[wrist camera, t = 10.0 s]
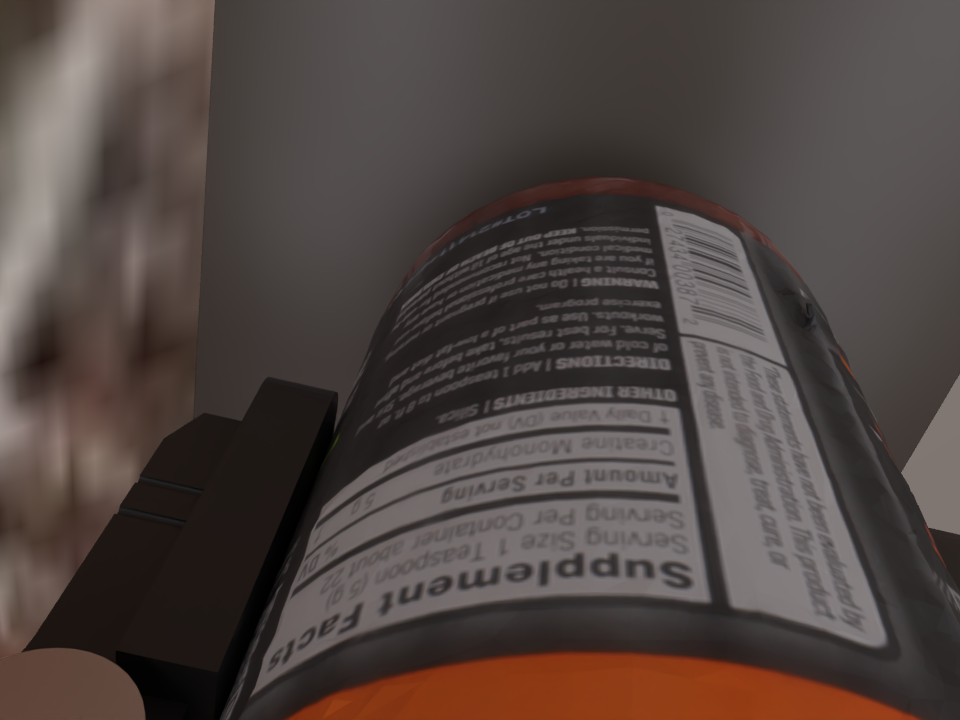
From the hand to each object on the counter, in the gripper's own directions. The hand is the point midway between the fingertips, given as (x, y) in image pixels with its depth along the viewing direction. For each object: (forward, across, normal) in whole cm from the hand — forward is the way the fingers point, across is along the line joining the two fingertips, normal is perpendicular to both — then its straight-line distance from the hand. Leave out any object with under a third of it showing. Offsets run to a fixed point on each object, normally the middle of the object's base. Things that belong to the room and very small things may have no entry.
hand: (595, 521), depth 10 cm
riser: (+9, 0, 0) cm, 9 cm away
